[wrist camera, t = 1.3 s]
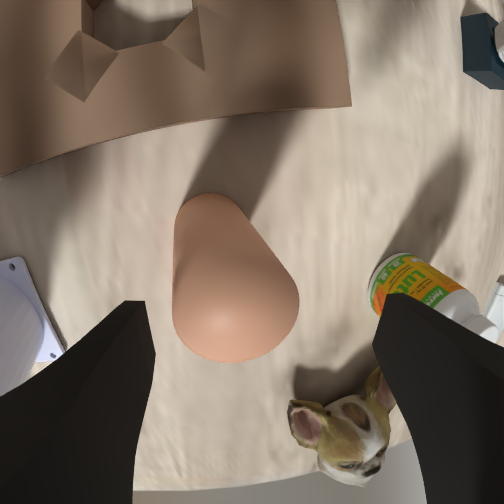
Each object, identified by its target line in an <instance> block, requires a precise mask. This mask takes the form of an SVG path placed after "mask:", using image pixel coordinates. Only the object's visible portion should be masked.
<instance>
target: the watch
mask: <svg viewBox="0 0 504 504" xmlns="http://www.w3.org/2000/svg"><path fill="white" fill-rule="evenodd" d="M460 18H461V29H462V45H463V72H465V73H466V74H468V75H469V76H471V77H473V78H474V79H476V80H477V81H479V82H480V83H482V84H483V85H485V86H486V87H488V88H489V89H498V90H504V20H503V21H502V22H500V23H498V22H497V21H496V20H494V19H493V18H492V17H491V16H490V15H489V14H487V13H482V14H476V15H470V16H465V17H460Z"/></svg>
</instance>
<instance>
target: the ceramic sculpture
mask: <svg viewBox="0 0 504 504" xmlns="http://www.w3.org/2000/svg"><path fill="white" fill-rule="evenodd" d="M364 389H365V393H366V395H365V396H362V395H349V396H346V397H343V398H341V399H339V400H336V401H334V402H332V403H330V404H329V405H327V406H326V407H325V408H323V407H322V405H321V404H319V403H318V402H313V401H306V400H290V402H289V406H288V411H287V414H288V421H289V426H290V430H291V435H292V436H293V437H294V438H295V439H296V440H297V442H298V444H299V445H300V446H303V447H305V448H310V449H314V450H315V451H317V452H318V457H317V460H318V467H319V469H320V471H321V472H323V473H325V474H327V475H328V476H330V477H331V478H333V479H335V480H337V481H340V482H343V483H345V484H351V485H358V486H361V487H366V486H367V484H368V482H369V480H370V479H371V477H372V476H373V474H375V473H377V472H378V471H379V470H380V469H381V467H382V466H383V464H384V461H385V452H386V449H387V447H388V444H389V439H390V432H391V428H390V423H389V413H390V411H391V410H392V409H393V408H394V406H395V404H396V400H395V398H394V396H393V394H392V392H391V390H390V388H389V386H388V384H387V382H386V380H385V378H384V376H383V374H382V372H381V369H380V367H379V366H378V367H377V368H376V369H375V370H374V371H373V372H372V373H371V374H370V375H369V377H368V378H367V379H366V382H365V384H364Z"/></svg>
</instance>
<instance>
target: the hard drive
mask: <svg viewBox="0 0 504 504" xmlns="http://www.w3.org/2000/svg"><path fill="white" fill-rule="evenodd" d="M481 315H483V316H485V317H486V318H488V319H489V320H490V321H491V322H492V323H494V324H495V325H496V326H497V328H498V338H499V337H500V335H501V333H502V331H503V329H504V284H502V283H499V282H496V283H495V285H494V288H493V290H492V292H491V294H490V296H489V298H488V301H487V303H486V305H485V307H484V309H483V311H482V313H481ZM498 338H497V340H498ZM496 342H497V341H496ZM495 344H496V343H495Z"/></svg>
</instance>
